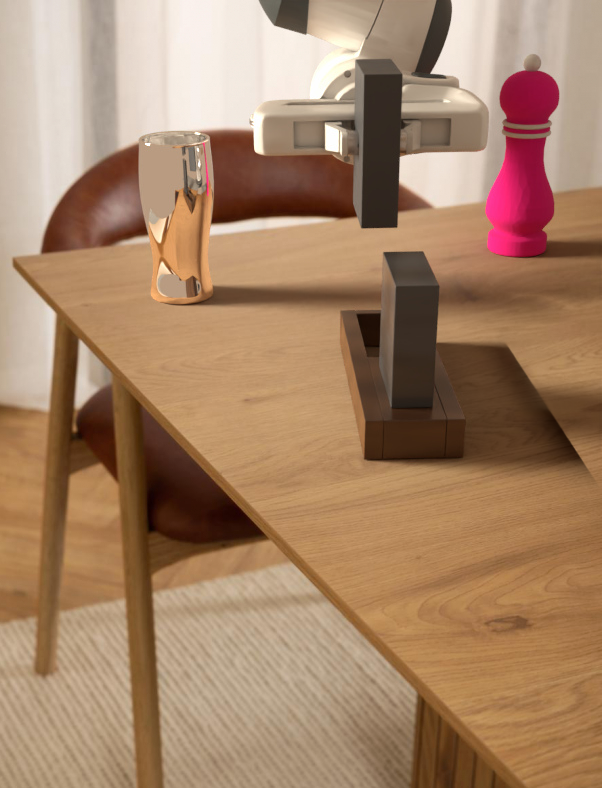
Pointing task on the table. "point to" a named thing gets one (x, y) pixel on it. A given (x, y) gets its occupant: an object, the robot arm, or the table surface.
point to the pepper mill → (523, 164)
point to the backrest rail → (396, 421)
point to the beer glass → (177, 212)
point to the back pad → (377, 142)
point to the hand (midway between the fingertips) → (377, 145)
